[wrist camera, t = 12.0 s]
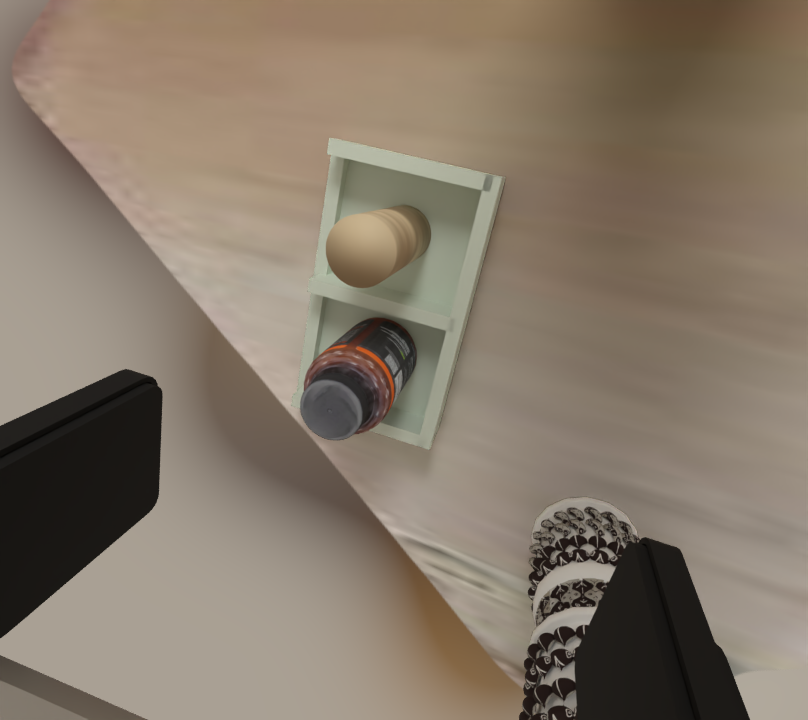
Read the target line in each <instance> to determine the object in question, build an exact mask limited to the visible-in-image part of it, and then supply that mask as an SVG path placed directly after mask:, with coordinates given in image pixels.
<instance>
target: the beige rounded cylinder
mask: <svg viewBox="0 0 808 720" xmlns="http://www.w3.org/2000/svg"><path fill="white" fill-rule="evenodd" d="M430 241H431V228H430V224H429V222H428V220H427V218H426V217H425V215H424V214H423V213H422V212H421V211H420V210H418V209H417V208H414V207H412V206H408V205H400V206H394V207H389V208H384V209H379V210H374V211H369V212H364V213H359V214H354V215H350V216H347V217H344V218H343V219H341V220H339V221H338V222H337V223H336V224H335V225H334V226H333V228H332V229H331V231H330V232H329V235H328V237H327V241H326V257H327V261H328V264H329V266H330V268H331V270H332V271H333V273H334V274H335V275H336V276H337V277H338V278H339V279H340V280H341V281H342V282H344V283H345V284H347V285H349V286H352V287H356V288H368V287H372V286H375V285H377V284H379V283H380V282H382V281H384V280H385V279H387V278H388V277H390V276H391V275H393V274H394V273H396V272H397V271H399V270H401V269H402V268H404V267H405V266H407V265H408V264H410V263H411V262H413V261H414V260H416V259H417V258H419V257H420V256H422V255H423V254H424V253H425V251H426V250H427V248H428V246H429V244H430Z"/></svg>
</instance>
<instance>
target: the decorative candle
mask: <svg viewBox="0 0 808 720" xmlns="http://www.w3.org/2000/svg"><path fill="white" fill-rule="evenodd" d="M531 539H532V544H533V545H532V546H530V548H529V549H530V551H531V552H532V553H533V554H535V555H536V558H530V559H529V564H530V565H531V566H533V569H534V570H535V571H534V572H532V573H531V574H530V575H529V581H530V582H531V584H532V585H534V586H532V587H530V588H529V590H528V595H529V597H530V599H531V600H532V601H533V603H532V612H533V618H534V623H535V627H536V629H535V630H534V631H533V633H532V637H531V640H530V643H529V647H528V650H527V654H528V658H527V659H526V660H525V661H524V667H525V669H526V671H527V672H526V674H525V680H526V683H525V685H524V694H525V696H526V698H525V699H524V700H523V704H522V707H523V712H521V713H520V715H519V720H578V717H577V701H576V685H575V658H576V653H577V650H578V647H579V645H580V643H581V641H582V638H583V636H584V634H585V632H586V630H587V628H588V626H589V624H590V621H591V619H592V617H593V615H594V613H595V611H596V609H597V607H598V604H599V602H600V600H601V598H602V596H603V594H604V592H605V589H606V587H607V585H608V583H609V581H610V579H611V577H612V575H613V572H614V570H615V568H616V566H617V564H618V562H619V560H620V558H621V555H622V553H623V551H624V549H625V547H626V545H627V544H628V543H629V542H634V543H638V542H639V541H640V539H639V538H638V536H637V531H636V529H635V527H634V526H633V524H632V523H631V521H630V520H629V518H628V517H627V516H626V514H625V513H623V512H622V511H620V510H619V509H617V508H616V507H614V506H613V505H611V504H610V503H608V502H605V501H601V500H597V499H593V498H589V497H579V498H565V499H563V500H561V501H559V502H556V503H554V504H552V505H550V506H548V507H547V508H546V509H545V510H544V511H543V512H542V513H541V514H540V515H539V516H538V517H537V519H536V520H535V524H534V527H533V531H532V534H531ZM534 713H536V714H535V715H534Z"/></svg>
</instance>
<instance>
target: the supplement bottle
mask: <svg viewBox="0 0 808 720" xmlns="http://www.w3.org/2000/svg"><path fill="white" fill-rule="evenodd" d="M416 360H417V350H416V347H415V344H414V341H413V339H412V337H411V336H410V334H409V333H408V332H407V330H406V329H405V328H403V327H402V326H401V325H400V324H398V323H397V322H395V321H392V320H390V319H386V318H379V317H375V318H369V319H366V320H363V321H361V322H359V323H358V324H356V325H355V326H354V327H352V328H351V329H350V330H349V331H347V332H346V333H345V334H344V335H343V336H342V337H340V338H339V339H338V340H337V341H336V342H334V343H333V344H332V345H331V346H330V347H328V348H327V349H326V350H325V351H324V352H323V353H322V354H320V355H319V356H318V357H317V358H316V359H315V360H314V361H313V362H312V364H311V365H310V367H309V368H308V370H307V373H306V376H305V380H304V392H303V394H302V397H301V401H300V410H301V415H302V417H303V420H304V422H305V423H306V425H307V426H308V427H309V428H310V429H311V430H312V431H313V432H314V433H315V434H317V435H318V436H321V437H322V438H325V439H328V440H343V439H346V438H349V437H350V436H352V435H353V434H359V433H364V432H366V431H369V430H370V429H372V428H374V427H375V426H377V425H378V424H379V423H380V422H381V421H382V420H383V419H384V417H385V416H386V415H387V413H388V411H389V410H390V408H391V407H392V405H393V403H394V402H395V400H396V399H397V397H398V396H399V394H400V392H401V391H402V389H403V388H404V386H405V384H406V383H407V381H408V380H409V378H410V377H411V375H412V373H413V371H414V368H415V366H416Z"/></svg>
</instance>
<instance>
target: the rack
mask: <svg viewBox="0 0 808 720" xmlns="http://www.w3.org/2000/svg"><path fill="white" fill-rule="evenodd" d="M327 154H329V155H331V159H330V166H329V173H328V180H327V187H326V193H325V200H324V207H323V214H322V221H321V228H320V235H319V242H318V248H317V255H316V262H315V269H314V276H313V277H312V278H309V284H308V291H307V292H310V293H311V296H310V303H309V310H308V317H307V324H306V331H305V338H304V345H303V351H302V358H301V365H300V372H299V379H298V386H297V392H295V393H294V394H293V396H292V403H291V406H293V407H296V408H299V409H300V401H301V397H302V394H303V392H304V380H305V376H306V373H307V370H308V368H309V367H310V365H311V364H312V362H313V361H314V360H315V359H316V358H317V357H318V356H319V355H320V354H322V353H323V352H324V351H325V350H326V349H327V348H328V347H330V346H331V345H332V344H333V343H334V342H336V341H337V340H338V339H339V338H340V337H342V336H343V335H344V334H345V333H346V332H347V331H349V330H350V329H351V328H352V327H354V326H355V325H356V324H358V323H359V322H361V321H363V320H366V319H369V318H375V317H379V318H386V319H390V320H392V321H395V322H397V323H398V324H400V325H401V326H402V327H403V328H405V329H406V330H407V332H408V333H409V334H410V336H411V337H412V339H413V341H414V344H415V347H416V350H417V360H416V366H415V368H414V371H413V373H412V375H411V377H410V378H409V380H408V381H407V383H406V384H405V386H404V388H403V389H402V391H401V392H400V394H399V396H398V397H397V399H396V400H395V402H394V403H393V405H392V407H391V408H390V410H389V411H388V413H387V415H386V416H385V417H384V419H383V420H382V421H381V422H380V423H379V424H378V425H377V426H375V427H374V428H372V429H370V430H369V431H371V432H374V433H377V434H380V435H384V436H387V437H390V438H393V439H396V440H399V441H402V442H405V443H409V444H412V445H415V446H418V447H421V448H424V449H427V450H430V448H431V446H432V443H433V441H434V438H435V436H436V434H437V431H438V429H439V425H440V422H441V418H442V414H443V410H444V407H445V403H446V399H447V395H448V392H449V388H450V384H451V381H452V377H453V373H454V369H455V366H456V362H457V358H458V354H459V351H460V347H461V343H462V340H463V336H464V332H465V328H466V325H467V321H468V317H469V313H470V310H471V306H472V302H473V299H474V295H475V291H476V287H477V284H478V280H479V276H480V272H481V269H482V265H483V261H484V258H485V254H486V250H487V246H488V243H489V239H490V235H491V231H492V228H493V224H494V220H495V217H496V213H497V209H498V205H499V202H500V198H501V194H502V190H503V187H504V183H505V179H506V177H502V176H498V175H493V174H489V173H485V172H480V171H476V170H471V169H467V168H463V167H458V166H454V165H450V164H445V163H441V162H437V161H432V160H428V159H423V158H419V157H415V156H410V155H406V154H402V153H397V152H393V151H389V150H384V149H380V148H375V147H371V146H367V145H362V144H358V143H354V142H349V141H345V140H340V139H335V138H329V144H328V151H327ZM400 205H408V206H412V207H414V208H417V209H418V210H420V211H421V212H422V213H423V214H424V215H425V217H426V218H427V220H428V222H429V224H430V228H431V241H430V244H429V246H428V248H427V250H426V251H425V253H424V254H423V255H422V256H420V257H419V258H417V259H416V260H414V261H413V262H411V263H410V264H408V265H407V266H405V267H404V268H402V269H401V270H399V271H397V272H396V273H394V274H393V275H391V276H390V277H388V278H387V279H385V280H384V281H382V282H380V283H379V284H377V285H375V286H372V287H368V288H356V287H352V286H349V285H347V284H345V283H344V282H342V281H341V280H340V279H339V278H338V277H337V276H336V275H335V274H334V273H333V271H332V270H331V268H330V266H329V264H328V261H327V257H326V241H327V237H328V235H329V232H330V231H331V229H332V228H333V226H334V225H335V224H336V223H337V222H338V221H339V220H341V219H343V218H344V217H347V216H350V215H354V214H359V213H364V212H369V211H374V210H379V209H384V208H389V207H394V206H400Z"/></svg>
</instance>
